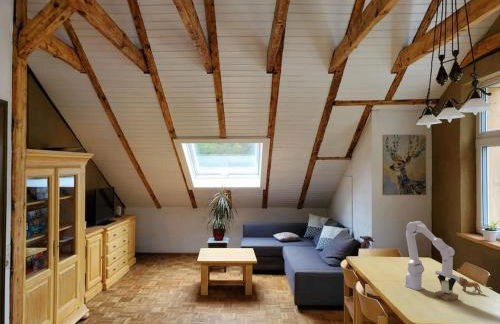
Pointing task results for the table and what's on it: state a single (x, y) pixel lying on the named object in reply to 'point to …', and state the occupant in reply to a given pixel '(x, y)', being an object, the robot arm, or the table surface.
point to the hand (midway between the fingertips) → (446, 288)
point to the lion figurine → (469, 285)
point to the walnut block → (446, 296)
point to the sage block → (445, 286)
